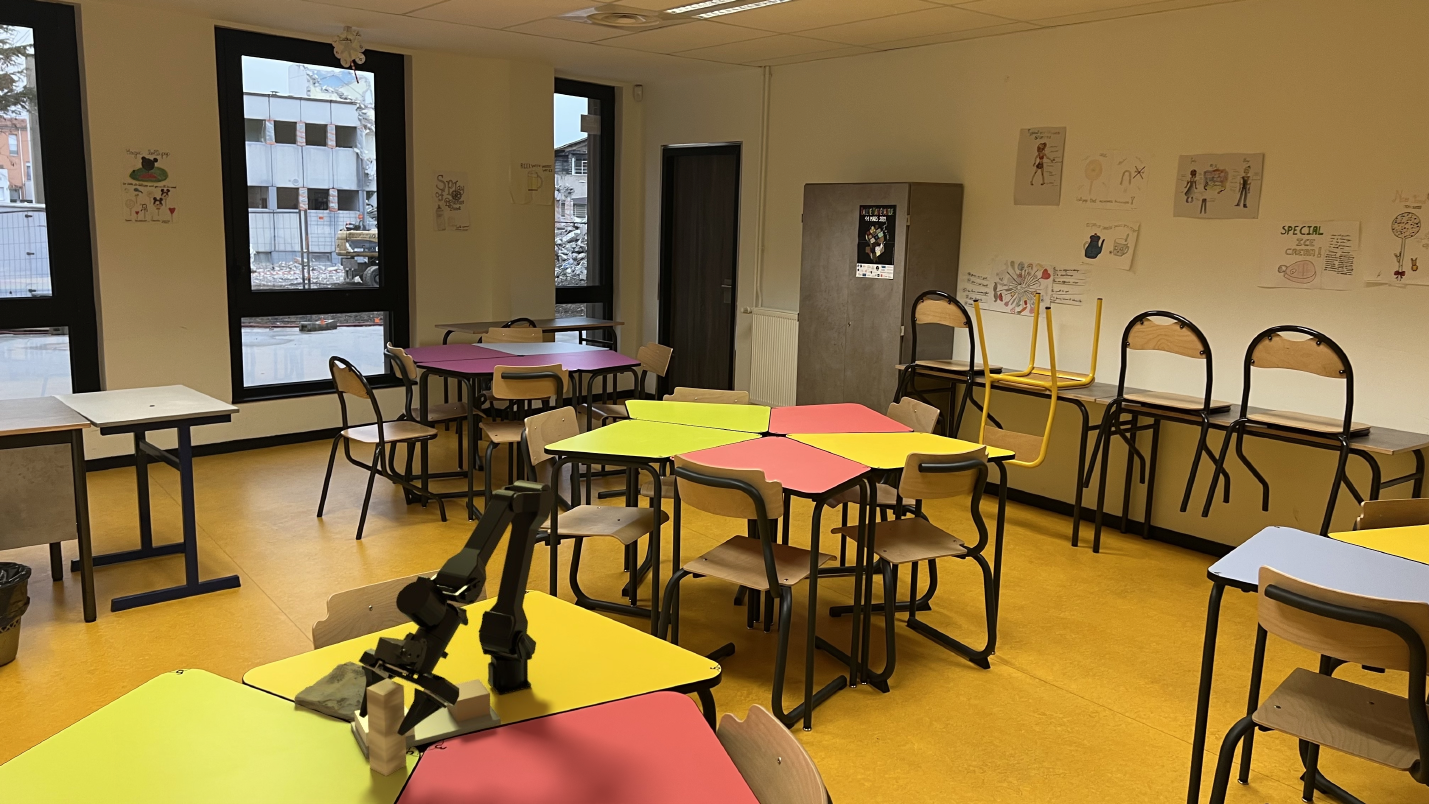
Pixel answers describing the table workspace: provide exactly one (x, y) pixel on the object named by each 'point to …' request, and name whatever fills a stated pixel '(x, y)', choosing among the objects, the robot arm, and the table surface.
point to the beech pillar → (386, 726)
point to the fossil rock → (336, 692)
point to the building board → (443, 718)
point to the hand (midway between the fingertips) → (380, 725)
